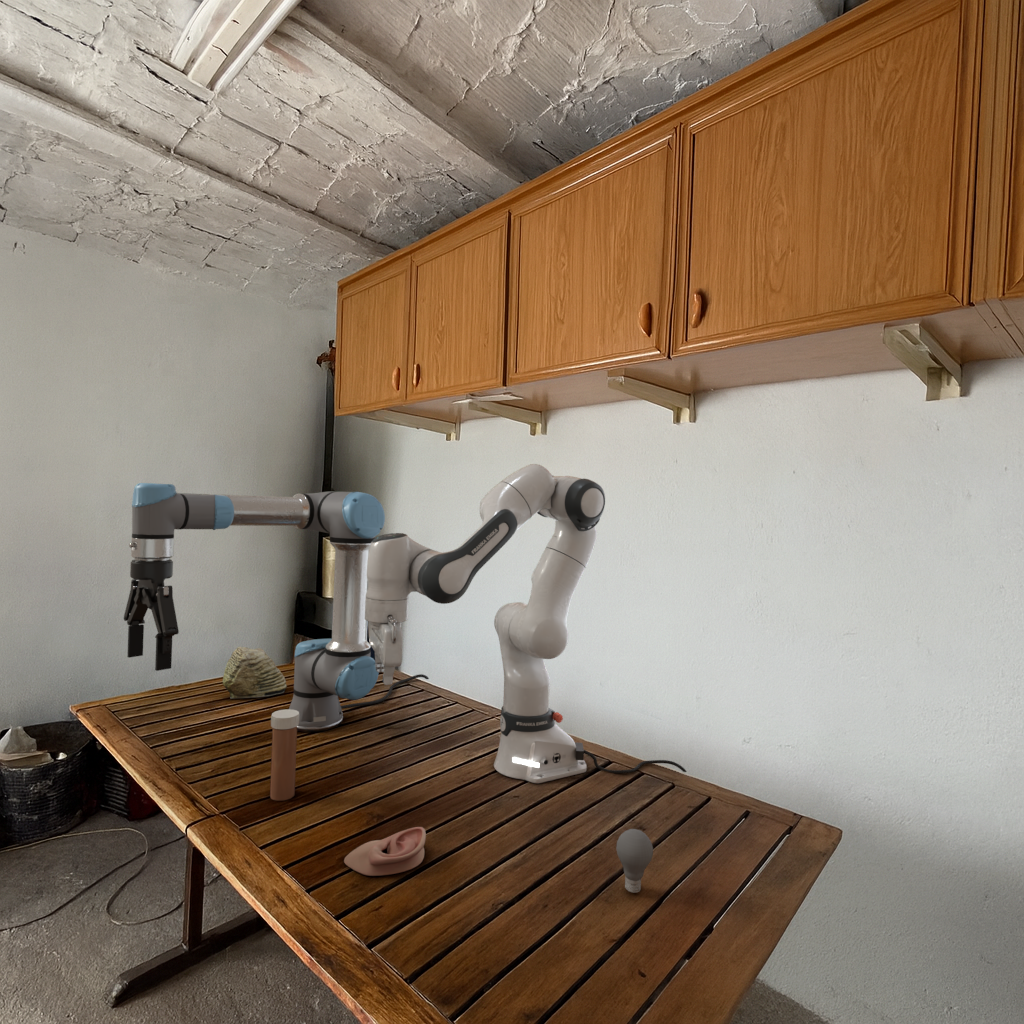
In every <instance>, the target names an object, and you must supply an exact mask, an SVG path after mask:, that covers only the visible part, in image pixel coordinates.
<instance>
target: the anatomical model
mask: <svg viewBox="0 0 1024 1024" xmlns="http://www.w3.org/2000/svg"><path fill="white" fill-rule="evenodd" d="M426 839H427V834H426V829H425V827H423V826H415V827H411V828H407V829H404V830H401V831H398V832H396V833H394V834H392V835H389V836H387V837H385V838H383V839H376V840H370V841H368V842H365V843H363V844H361V845H359V846H357V847H356V848H355V849H353V850H352V851H350V852H349V853H348V854H347V855H346V856H345V857H344V859H343V863H344V865H346V866H347V867H348V868H350V869H352V870H353V871H355V872H356V873H359V874H361V875H364V876H369V877H377V876H389V875H394V874H395V875H396V874H399V873H403V872H407V871H409V870H412V869H414V868H416V867H418V866H419V865H421V863H422V862H423V860H424V859H425V848H424V846H425V844H426Z"/></svg>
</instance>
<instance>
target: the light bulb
mask: <svg viewBox="0 0 1024 1024" xmlns="http://www.w3.org/2000/svg"><path fill="white" fill-rule="evenodd" d="M615 849H616V854H617V857H618V859H619V861H620V863H621V865H622V867H623V873H624V874H623V875H624V876H625V878H624V888H625V890H627V891H628V892H630V893H634V894H635V893H639V892H640V891H641V889H642V887H641V886H642V879H643V877H644V875H645V871H646V868H647V867H648V866H649V864H650V863H651V861H652V859H653V855H654V847H653V843H652V841H651V838H649V836H648V835H647V834H646V833H645V832H643V831H642V830H641V829H636V828H629V829H627V830H625V831H623V832H622V833H621V834H620V835H619V837H618V839H617V841H616V847H615Z"/></svg>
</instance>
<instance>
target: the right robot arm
mask: <svg viewBox="0 0 1024 1024" xmlns="http://www.w3.org/2000/svg"><path fill="white" fill-rule="evenodd" d="M605 507H606V495H605V491H604V489H603V488H602V486H601V485H600V484H599V483H598V482H595V480H594V481H593V480H591V479H588V478H581V477H577V476H571V475H552V473H551V472H550V471H549V470H548V469H547V468H546V467H545V466H543V465H541V464H538V463H530V464H527V465H525V466H523V467H521V468H519V469H517V470H516V471H514V472H512V473H510V474H509V475H508V476H506V477H505V478H503V479H502V480H501V481H499V482H498V483H497V484H495V485H494V486H493V487H492V488H491V489H490V490H489V491H488V492H486V493H485V495H484V496H483V498H481V500H480V503H479V516H480V519H481V520H482V523H481V525H480V526H479V527H478V528H477V529H476V530H475V531H474V532H473V533H472V534H470V536H468V537H467V538H466V539H465V540H464V541H463V542H462V543H461V544H460V545H459V546H458V547H456V548H454V549H451V550H450V551H445V552H444V551H443V552H441V551H439V550H435V549H432V548H429V547H427V546H424V545H423V544H420V543H419V542H417V541H416V540H414V539H412V538H411V537H410V536H409V535H408V534H407V533H404V532H395V533H386V534H381V535H377V536H375V539H374V540H373V541H372V542H371V545H370V549H369V554H368V562H367V580H368V581H367V592H366V599H365V620H366V622H367V627H368V641H369V642H368V643H369V644H370V645H371V648H372V650H373V651H374V660H375V662H376V667H375V669H376V671H377V672H379V673H383V674H382V683H383V685H385V686H390V685H391V686H392V685H393V684H394V683H393V682H394V675H395V671H396V667H401V666H402V663H403V652H404V651H403V649H404V647H403V645H404V643H403V642H404V637H403V636H404V635H403V629H402V623H404V622H407V621H408V620H409V598H410V594H411V593H419V594H421V595H423V596H425V597H427V598H428V599H430V600H431V601H432V602H434V603H437V604H441V605H445V604H451V603H454V602H456V601H458V600H459V599H460V598H462V597H463V596H464V595H465V593H466V592H467V590H468V589H469V587H470V585H471V583H472V581H473V579H474V578H475V576H476V575H477V573H478V572H479V571H480V570H481V569H482V568H483V567H484V566H485V565H487V563H488V562H489V561H490V560H491V559H492V558H493V557H494V556H495V555H496V554H497V553H498V552H499V551H500V550H501V549H502V548H503V547H504V546H505V545H506V544H507V543H508V542H509V540H511V538H512V537H513V536H514V534H515V533H516V532H517V531H518V530H519V529H520V528H522V527H523V526H524V525H525V524H526V523H527V522H529V521H530V520H531V519H532V518H533V517H534V516H536V515H537V514H538V515H540V516H541V517H544V518H548V519H551V520H555V521H554V522H555V523H554V524H555V526H554V532H553V534H552V535H551V538H550V539H549V540H548V543H547V544H546V546H545V548H544V550H543V551H542V554H541V556H540V558H539V560H538V562H537V564H536V566H535V568H534V570H533V571H532V573H531V577H530V580H531V590H530V595H529V598H528V602H527V603H526V602H522V601H515V602H508V603H505V604H503V605H502V606H501V607H500V608H499V609H498V610H497V611H496V614H495V616H494V620H493V625H494V629H495V632H496V634H497V637H498V641H499V648H500V655H501V661H502V668H503V701H502V703H503V704H502V705H501V710H500V719H499V729H500V737H499V745H498V749H497V753H496V756H495V760H494V762H493V767H494V769H495V770H496V771H497V772H498V773H499V774H501V775H503V776H506V777H509V778H512V779H517V780H523V781H526V782H530V783H532V784H542V783H547V782H550V781H554V780H559V779H564V778H567V777H570V776H574V775H575V776H576V775H579V774H584V773H586V772H587V770H588V767H587V763H586V761H585V755H587V756H588V757H590V758H591V759H592V760H593V764H594V766H595V768H596V769H598V770H599V771H603V772H607V773H611V774H618V775H621V774H632V773H634V772H636V771H638V770H639V769H640V768H641V767H642V766H644V765H653V764H668V765H672V766H674V767H676V768H678V769H679V770H681V771H682V772H683V773H687V772H688V770H686V769H685V767H683V766H682V765H681V764H679V763H678V762H675V761H672V760H668V759H667V760H666V759H654V760H652V759H651V760H644V761H641V762H639V763H638V764H637V765H636V766H635V767H633V768H630V769H621V770H620V769H619V770H617V769H615V770H613V769H607V768H604V767H602V766H601V765H599V764H598V761H597V757H596V756H595V754H593V753H591V752H589V751H588V750H586V749H584V744H583V742H577V741H576V742H575V740H574V739H573V737H572V736H571V735H570V734H568V733H567V732H566V731H565V730H564V729H562V727H560V726H558V724H560V723H562V722H563V720H564V716H563V715H562V713H560V712H558V711H555V710H554V709H552V708H551V707H550V689H551V688H550V687H551V678H550V673H549V671H548V670H547V667H546V664H545V660H553V659H555V658H557V657H559V656H560V655H562V653H564V652H565V650H566V648H567V646H568V643H569V630H568V626H567V623H568V615H569V611H570V605H571V602H572V598H573V596H574V593H575V592H576V589H577V587H578V585H579V583H580V581H581V579H582V576H583V574H584V572H585V570H586V568H587V566H588V564H589V562H590V560H591V557H592V555H593V552H594V548H595V545H596V541H597V539H598V530H597V528H596V526H597V525H598V524H599V522H600V519H601V517H602V515H603V513H604V510H605ZM556 723H558V724H556Z"/></svg>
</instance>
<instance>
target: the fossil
mask: <svg viewBox="0 0 1024 1024" xmlns="http://www.w3.org/2000/svg"><path fill="white" fill-rule="evenodd" d="M222 676H223V677H222V685H223V687H224V688H225V690H226V691H228V693H229V698H230V699H250V698H264V697H271V696H275V695H281V694H284V693H285V691H286V689H287V687H288V686H287V680H286V678H285V676H284V674H283V673H282V672H281V669H279V668H278V667H277V665H276V663H275V662H274V660H273V659H272V658H271V657H270V656H269V655H268V654H267V653H266V652H265V650H264V649H263V648H260V647H258V648H251V647H247V646H246V647H245V646H238V647H237V648H236V649H235V650H233V651H232V653H231V656H230V657H229V659H228V660H227V663H226V666H225V668H224V671H223V675H222Z"/></svg>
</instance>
